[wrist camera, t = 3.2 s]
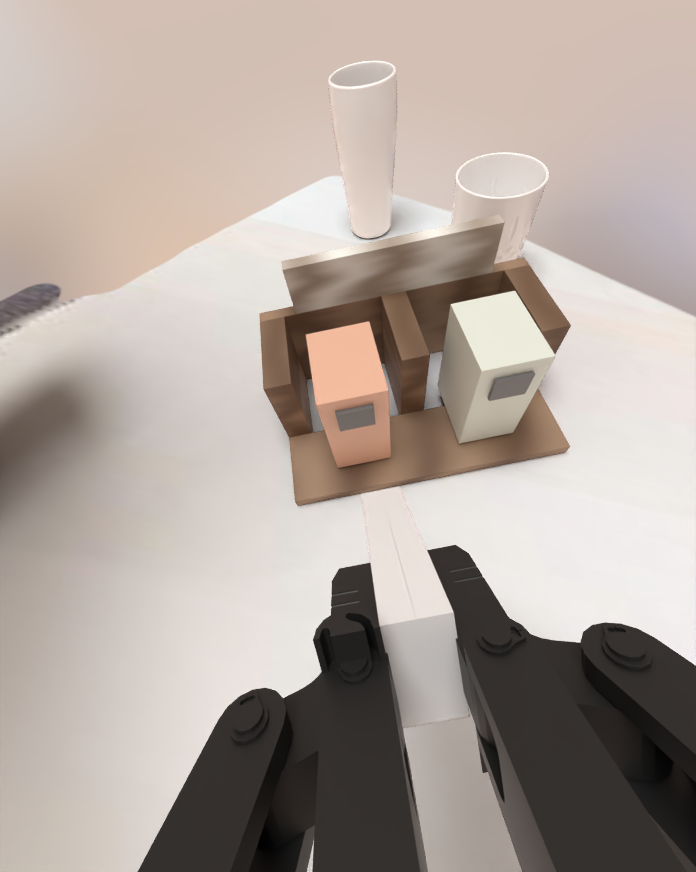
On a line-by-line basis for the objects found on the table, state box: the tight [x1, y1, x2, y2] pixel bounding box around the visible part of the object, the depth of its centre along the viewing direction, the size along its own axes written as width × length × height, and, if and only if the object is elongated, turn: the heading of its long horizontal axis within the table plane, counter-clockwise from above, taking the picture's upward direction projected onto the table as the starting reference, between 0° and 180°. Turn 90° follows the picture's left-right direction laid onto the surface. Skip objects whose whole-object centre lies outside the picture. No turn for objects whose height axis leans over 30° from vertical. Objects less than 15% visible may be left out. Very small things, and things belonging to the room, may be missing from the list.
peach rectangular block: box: [306, 321, 391, 468], centre depth 27 cm, size 4×6×9 cm
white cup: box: [451, 152, 549, 264], centre depth 36 cm, size 8×8×10 cm
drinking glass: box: [328, 61, 397, 238], centre depth 41 cm, size 7×7×15 cm
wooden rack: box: [260, 215, 571, 506], centre depth 27 cm, size 22×14×12 cm, turn 99°
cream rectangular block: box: [438, 291, 555, 444], centre depth 26 cm, size 4×6×9 cm
